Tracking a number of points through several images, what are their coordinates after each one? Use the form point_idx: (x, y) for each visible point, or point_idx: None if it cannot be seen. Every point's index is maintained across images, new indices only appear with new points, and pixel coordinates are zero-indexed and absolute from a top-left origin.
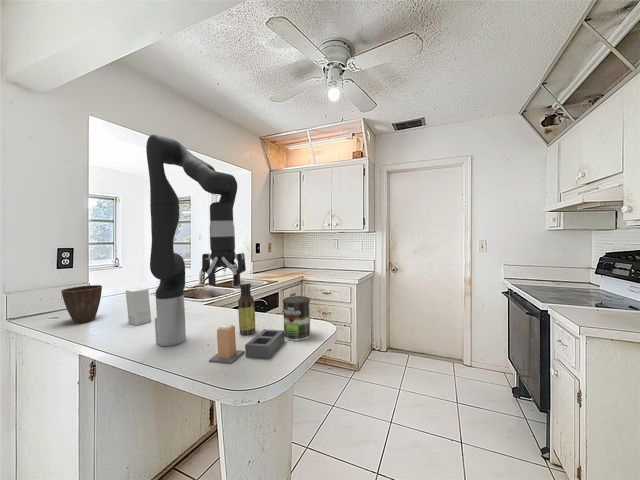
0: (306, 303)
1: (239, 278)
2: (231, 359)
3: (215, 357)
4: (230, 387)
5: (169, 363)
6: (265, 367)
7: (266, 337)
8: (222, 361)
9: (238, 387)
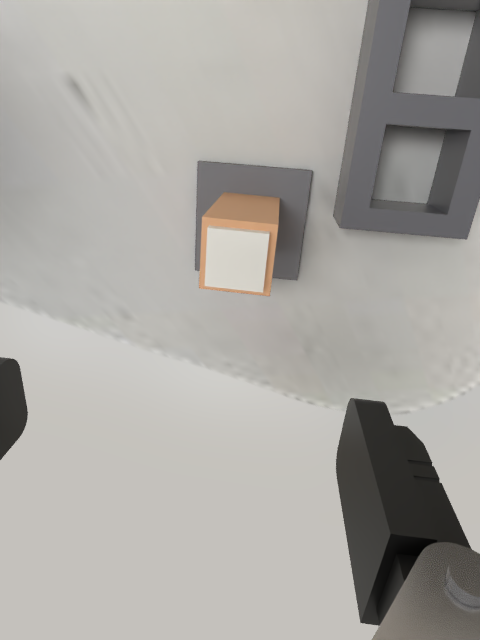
0: None
1: (438, 507)
2: (286, 261)
3: None
4: None
5: (56, 288)
6: (441, 294)
7: (436, 116)
8: None
9: None
